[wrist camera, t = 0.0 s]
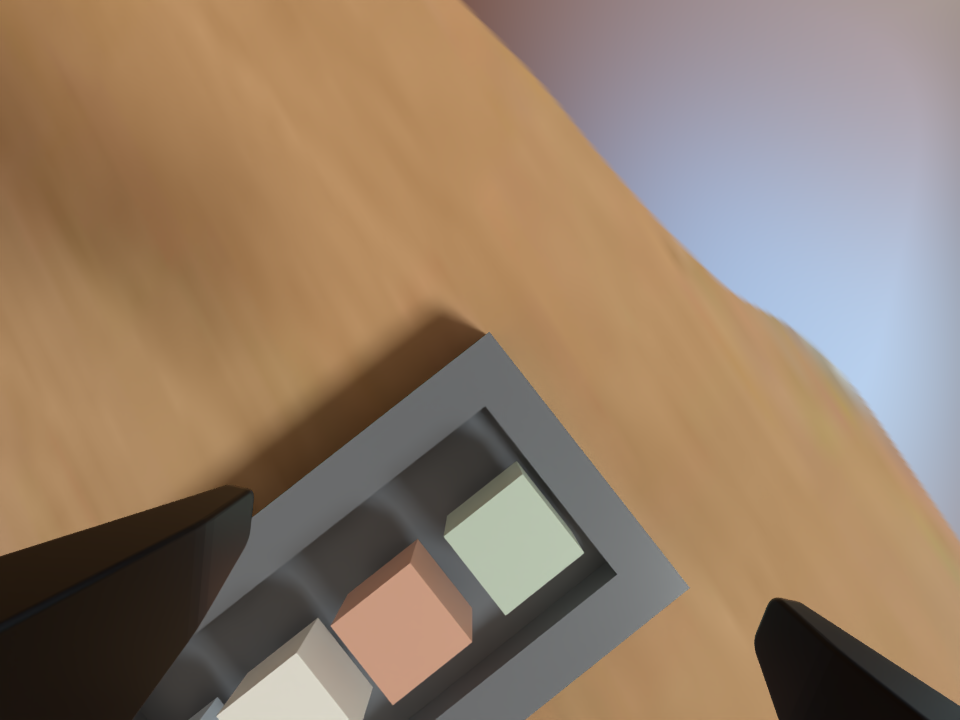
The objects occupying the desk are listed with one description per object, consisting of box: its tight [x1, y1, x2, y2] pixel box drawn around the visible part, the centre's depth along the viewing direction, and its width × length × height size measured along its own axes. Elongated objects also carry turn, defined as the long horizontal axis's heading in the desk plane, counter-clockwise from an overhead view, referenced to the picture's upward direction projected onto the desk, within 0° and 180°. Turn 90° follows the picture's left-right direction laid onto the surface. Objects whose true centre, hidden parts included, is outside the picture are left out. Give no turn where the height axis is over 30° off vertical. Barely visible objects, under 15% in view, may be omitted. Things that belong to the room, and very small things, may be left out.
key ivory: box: [216, 618, 373, 720], centre depth 20 cm, size 4×4×3 cm
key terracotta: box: [331, 539, 472, 705], centre depth 20 cm, size 4×4×3 cm
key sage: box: [444, 461, 584, 616], centre depth 20 cm, size 4×4×3 cm
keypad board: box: [133, 332, 689, 720], centre depth 23 cm, size 25×14×2 cm, turn 128°
